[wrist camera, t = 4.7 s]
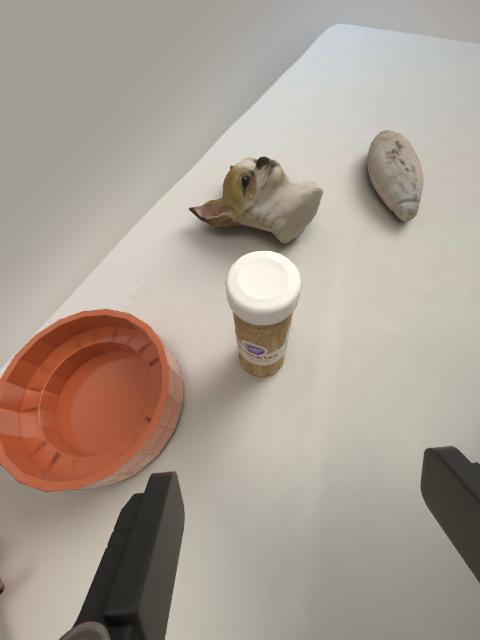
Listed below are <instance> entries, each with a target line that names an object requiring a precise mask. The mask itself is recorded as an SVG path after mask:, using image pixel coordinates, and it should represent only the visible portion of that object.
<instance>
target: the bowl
mask: <svg viewBox="0 0 480 640" xmlns="http://www.w3.org/2000/svg"><path fill="white" fill-rule="evenodd" d="M182 406H183V379H182V376H181V373H180V369H179V366H178V363H177V360H176V359H175V358H174V357H173V355H172V354H171V353H170V351H169V350H168V349H167V347H166V346H165V345H164V344H163V342H162V341H161V340H160V339H159V337H158V336H157V335H156V334H155V332H154V331H153V330H152V328H151V327H150V326H149V325H148V324H146V323H144V322H143V321H141V320H139V319H138V318H136V317H135V316H133V315H131V314H129V313H124V312H119V311H114V310H109V309H103V310H92V311H83V312H80V313H77V314H74V315H71V316H69V317H66V318H63V319H60V320H59V321H57V322H55V323H54V324H52V325H50V326H49V327H47V328H46V329H44V330H43V331H41V332H40V333H38V334H36V336H34V337H33V338H32V339H31V340H30V341H29V342H28V343H27V344H26V345H25V346H24V347H23V348H22V349H21V350H20V351H19V352H18V353H17V354H16V355H15V356H14V358H13V359H12V361H11V363H10V364H9V366H8V367H7V369H6V371H5V372H4V374H3V375H2V377H1V379H0V464H1V465H2V466H3V467H4V468H5V469H6V470H7V471H8V472H9V473H10V474H11V475H12V476H13V477H14V478H15V479H16V480H17V481H18V482H19V483H21V484H24V485H27V486H30V487H33V488H36V489H39V490H42V491H45V492H51V491H65V490H78V489H86V488H95V487H103V486H109V485H112V484H114V483H117V482H119V481H121V480H124V479H126V478H128V477H131V476H133V475H135V474H137V473H138V472H139V471H140V470H141V469H143V468H144V467H145V466H146V465H147V464H148V463H150V462H151V461H152V460H153V459H154V458H156V457H157V456H158V455H159V453H160V452H161V450H162V449H163V447H164V446H165V444H166V443H167V441H168V440H169V438H170V437H171V436H172V434H173V433H174V431H175V428H176V425H177V422H178V419H179V416H180V413H181V410H182Z"/></svg>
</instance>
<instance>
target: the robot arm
mask: <svg viewBox="0 0 480 640" xmlns="http://www.w3.org/2000/svg"><path fill="white" fill-rule="evenodd" d="M421 492H422V496H423V498H424V501H425V503H426V505H427V507H428V508H429V510H430V511H431V513H432V514H433V516H434V517H435V519H436V520H437V522H438V523H439V524H440V526H441V527H442V529H443V530H444V532H445V533H446V535H447V536H448V538H449V539H450V541H451V542H452V543H453V545H454V546H455V548H456V549H457V551H458V552H459V554H460V555H461V557H462V558H463V559H464V561H465V562H466V564H467V565H468V567H469V568H470V570H471V571H472V573H473V574H474V576H475V577H476V578H477V580H478V581H479V583H480V464H479V463H471V462H470V461H469V460H468V459H467V458H466V457H465V456H464V455H463V454H462V453H461V452H460V451H459V450H458V449H457V448H455V447H453V446H447V447H437V448H427V449H426V450H425V452H424V458H423V467H422V476H421ZM184 519H185V514H184V504H183V500H182V495H181V491H180V486H179V481H178V477H177V473H176V472H164V473H153V474H151V476H150V478H149V480H148V483H147V486H146V489H145V492H144V493H138V494H134V495H133V496H132V497H131V499H130V500H129V501H128V502H127V504H126V505H125V506H124V507H123V509H122V510H121V512H120V515H119V517H118V520H117V522H116V525H115V527H114V532H112V535H111V537H110V540H109V542H108V547H107V548H106V549H105V552H104V554H103V557H102V559H101V562H100V564H99V567H98V569H97V572H96V574H95V577H94V579H93V582H92V584H91V587H90V589H89V592H88V594H87V597H86V599H85V601H84V604H83V606H82V609H81V611H80V614H79V616H78V618H77V620H76V622H75V624H74V626H73V627H72V629H71V630H69V631H68V632H67V633H66V634H64V635H63V636H62V637H61V638H60V639H59V640H165V635H166V629H167V623H168V617H169V611H170V605H171V600H172V594H173V588H174V582H175V576H176V571H177V565H178V559H179V553H180V547H181V542H182V536H183V530H184Z"/></svg>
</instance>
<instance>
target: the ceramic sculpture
mask: <svg viewBox="0 0 480 640" xmlns="http://www.w3.org/2000/svg"><path fill="white" fill-rule="evenodd" d="M322 194H323V190H322V189H321V188H319V187H318V186H317V185H316V184H315V183H314V182H299V181H294V180H292V179H290V178H289V177H288V176H287V175H286V174H285V173H284V172H283V169H282V168H281V166H280V164H279V163H278V162H277V161H275V160H271V159H269V158H267V157H260V158H259V159H258V160H257V159H255V158H247V159H244V160H242V161H241V162H239V163H238V164H236V165H235V166H230V171H229V172H228V174H227V176H226V177H225V180H224V183H223V198H222V199H219V200H211V201H209V202H207V203H206V204H204V205H203V206H199V207H193V208H189V210H190V211H191V212H192V213H193V214H194V215H196V216H197V217H198V218H199V219H200V220H202V221H203V222H206V223H208V224H210V225H212V226H216V227H224V226H235V225H240V224H241V225H245V226H249V227H254V228H258V229H261V230H265V231H269V232H272V233H273V235H274V236H275V237H276V238H277V239H278V240H279V241H280V242H282V243H288V242H290V241H291V240H293V239H294V238H296V237H297V236H299V235H300V234H301V233H302V232H303V231H304V229H305V227H306V226H307V225H308V224H309V223H310V222H311V221H312V219H313V217H314V216H315V215H316V213H317V210H318V207H319V204H320V199H321V197H322Z"/></svg>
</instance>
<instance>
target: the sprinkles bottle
mask: <svg viewBox="0 0 480 640" xmlns="http://www.w3.org/2000/svg"><path fill="white" fill-rule="evenodd" d="M300 289H301V278H300V274H299V271H298V269H297V268H296V266H295V265H294V264H293V262H291V261H290V260H289V259H288V258H287V257H285V256H283V255H281V254H279V253H276V252H271V251H256V252H252V253H249V254H246V255H244V256H242V257H241V258H239V259H238V260H237V261H235V262H234V263H233V265H232V266H231V267H230V269H229V271H228V273H227V277H226V292H227V298H228V303H229V305H230V307H231V309H232V311H233V315H234V323H235V333H236V339H237V344H238V348H239V351H240V354H239V357H240V361H241V364H242V366H243V367H244V368H245V369H246V370H247V371H248V372H249V373H251V374H253V375H256V376H262V377H263V376H268V375H271V374H274V373H275V372H277V371H278V370H279V369H280V367H281V366H282V364H283V362H284V359H285V356H284V354H285V350H286V346H287V341H288V337H289V332H290V327H291V322H292V314H293V311H294V309H295V308H296V306H297V303H298V299H299V295H300Z"/></svg>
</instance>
